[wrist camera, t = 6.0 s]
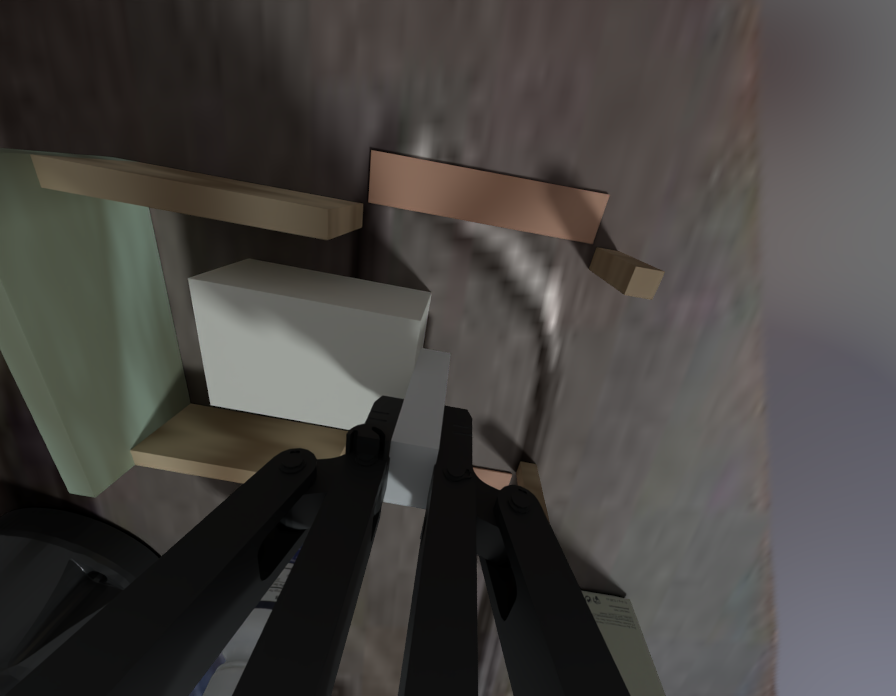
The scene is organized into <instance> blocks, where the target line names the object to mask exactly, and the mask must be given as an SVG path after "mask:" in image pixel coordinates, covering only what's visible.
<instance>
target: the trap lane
mask: <svg viewBox="0 0 896 696" xmlns="http://www.w3.org/2000/svg"><path fill="white" fill-rule="evenodd" d="M609 196H610V195H608V194H602V193H597V192H592V191H586V190H581V189H576V188H571V187H565V186H560V185H555V184H549V183H544V182H539V181H533V180H528V179H523V178H517V177H512V176H507V175H501V174H496V173H491V172H486V171H480V170H475V169H470V168H464V167H459V166H454V165H448V164H443V163H438V162H432V161H427V160H422V159H416V158H411V157H406V156H401V155H395V154H390V153H385V152H379V151H374V150H371V166H370V183H369V201H368V202H369V203H374V204H380V205H385V206H390V207H396V208H401V209H406V210H412V211H417V212H423V213H428V214H433V215H439V216H444V217H450V218H455V219H460V220H466V221H471V222H476V223H482V224H487V225H493V226H498V227H503V228H509V229H514V230H519V231H525V232H530V233H536V234H541V235H546V236H552V237H557V238H562V239H568V240H573V241H579V242H584V243H589V244H593V241H594V239H595V236H596V233H597V230H598V227H599V224H600V221H601V218H602V216H603V213H604V210H605V207H606V204H607V201H608V198H609ZM149 207H150V208H155V209H161V210H166V211H172V212H177V213H183V214H188V215H193V216H199V217H204V218H210V219H215V220H221V221H226V222H231V223H237V224H242V225H248V226H253V227H259V228H264V229H269V230H275V231H280V232H286V233H291V234H297V235H302V236H308V237H313V238H318V239H324V240H330V239H333V238H335V237H338V236H341V235H343V234H346V233H348V232H351V231H354V230H356V229H359V228H362V220H363V204H362V203H357V202H351V201H346V200H341V199H335V198H330V197H324V196H319V195H314V194H308V193H303V192H298V191H292V190H287V189H281V188H276V187H271V186H265V185H260V184H254V183H249V182H244V181H238V180H233V179H228V178H222V177H217V176H211V175H206V174H201V173H195V172H190V171H185V170H179V169H174V168H168V167H163V166H158V165H152V164H147V163H141V162H136V161H131V160H125V159H120V158H115V157H106V156H94V155H81V154H69V153H56V152H44V151H32V150H19V149H7V148H0V350H1V352H2V354H3V356H4V358H5V360H6V362H7V364H8V366H9V369H10V371H11V373H12V375H13V377H14V379H15V381H16V383H17V385H18V387H19V389H20V391H21V393H22V396H23V398H24V400H25V402H26V404H27V406H28V408H29V410H30V412H31V414H32V416H33V418H34V420H35V423H36V425H37V427H38V429H39V431H40V433H41V435H42V437H43V439H44V441H45V443H46V445H47V447H48V450H49V452H50V454H51V456H52V458H53V460H54V462H55V464H56V466H57V468H58V470H59V472H60V475H61V477H62V479H63V481H64V483H65V485H66V487H67V489H68V491H69V493H72V494H78V495H84V496H90V497H97V496H98V495H99V494H100V493H102V492H103V491H104V490H105V489H106V488H108V487H109V486H110V485H111V484H112V483H114V482H115V481H116V480H117V479H119V478H120V477H121V476H122V475H123V474H125V473H126V472H127V471H128V470H129V469H131V468H132V467H133V466H134V465H139V466H145V467H150V468H156V469H162V470H168V471H174V472H179V473H185V474H191V475H197V476H202V477H208V478H214V479H220V480H226V481H231V482H237V483H243V484H244V483H245V482H246V481H247V480H248V479H249V478H250V477H252V476H253V475H254V474H255V473H256V472H257V471H258V470H260V469H261V468H262V467H263V466H264V465H265V464H266V463H267V462H269V461H270V460H271V459H272V458H273V457H274V456H276V455H277V454H279V453H280V452H282V451H285V450H288V449H292V448H302V449H307V450H309V451H311V452H312V453H314V455H315V457H316V458H317V459H327V458H334V457H339V456H341V455H344V454H345V451H346V434H347V432H348V431H344V430H339V429H333V428H327V427H322V426H316V425H310V424H305V423H299V422H293V421H287V420H282V419H276V418H270V417H265V416H259V415H253V414H248V413H242V412H236V411H231V410H225V409H219V408H214V407H208V406H202V405H197V404H191V403H190V398H189V393H188V389H187V384H186V379H185V375H184V370H183V365H182V361H181V356H180V351H179V347H178V342H177V337H176V333H175V328H174V323H173V318H172V314H171V309H170V304H169V300H168V295H167V290H166V286H165V281H164V276H163V272H162V267H161V262H160V258H159V253H158V248H157V244H156V239H155V234H154V230H153V225H152V220H151V216H150V211H149ZM589 270H590V271H592V272H593V273H595V274H596V275H597V276H599V277H600V278H602V279H603V280H604V281H606V282H607V283H609V284H610V285H611V286H613V287H614V288H616V289H617V290H618V291H620V292H621V293H623V294H624V295H628V296H634V297H639V298H645V299H650V300H652V299H653V297H654V295H655V293H656V290H657V288H658V286H659V284H660V282H661V279H662V277H663V275H664V273H665V272H664V271H662V270H660V269H657V268H655V267H653V266H651V265H648V264H646V263H644V262H642V261H639V260H637V259H635V258H633V257H631V256H628V255H626V254H624V253H622V252H619V251H615V250H610V249H604V248H599V247H596V250H595V253H594V256H593V258H592V261H591V264H590V267H589ZM473 469H474V472H475V474H476V475H477V476H478V477H479V478H480V479H481V480H482V481H483V482H484V483H486V484H488V485H490V486H492V487H494V488H496V489H498V490H501V489H502V488H503V487H505V486H508V485H509V482H510V479H511V476H512V473H506V472H500V471H494V470H489V469H483V468H477V467H473ZM516 475H517V482H518V486H521V487H523V488H526V489H528V490H529V491H530V492H531V493H533V494H534V495H535V496H536V498H537V499H538V501H539V502H540V504H541V506H542V508H543V511H544V513H545V515H546V517H547V519H548V521H549V518H548V513H547V509H546V505H545V500H544V496H543V492H542V487H541V483H540V478H539V474H538V470H537V465H536V464H532V463H526V462H521V461H520V464H519V467H518V469H517V472H516ZM549 523H550V522H549Z"/></svg>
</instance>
